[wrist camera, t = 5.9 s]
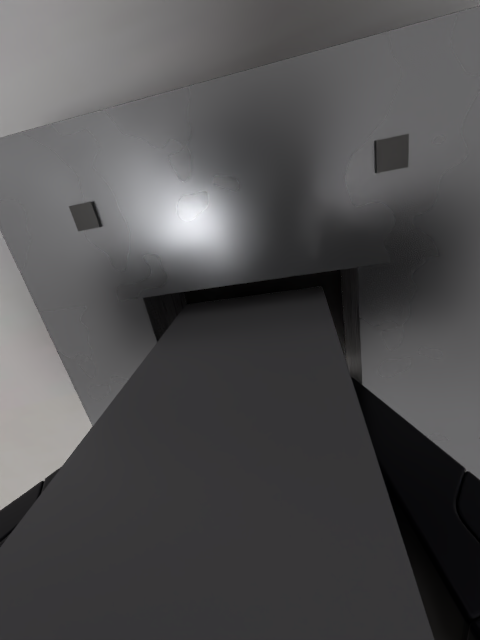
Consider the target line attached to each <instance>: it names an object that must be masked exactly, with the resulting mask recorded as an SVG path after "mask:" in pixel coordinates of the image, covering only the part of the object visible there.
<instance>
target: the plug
mask: <svg viewBox="0 0 480 640" xmlns="http://www.w3.org/2000/svg"><path fill="white" fill-rule="evenodd" d="M0 640H434V637H433V634H432V630H431V627H430V624H429V621H428V618H427V615H426V612H425V608H424V605H423V602H422V599H421V596H420V593H419V590H418V586H417V583H416V580H415V577H414V574H413V571H412V568H411V564H410V561H409V558H408V555H407V552H406V549H405V546H404V542H403V539H402V536H401V533H400V530H399V527H398V524H397V520H396V517H395V514H394V511H393V508H392V505H391V501H390V498H389V495H388V492H387V489H386V486H385V483H384V479H383V476H382V473H381V470H380V467H379V464H378V461H377V457H376V454H375V451H374V448H373V445H372V442H371V439H370V435H369V432H368V429H367V426H366V423H365V420H364V417H363V413H362V410H361V407H360V404H359V401H358V398H357V395H356V391H355V388H354V385H353V382H352V379H351V376H350V373H349V369H348V366H347V363H346V360H345V357H344V354H343V351H342V347H341V344H340V341H339V338H338V335H337V332H336V329H335V325H334V322H333V319H332V316H331V313H330V310H329V307H328V303H327V300H326V297H325V294H324V291H323V288H322V286H319V287H312V288H304V289H297V290H290V291H282V292H275V293H267V294H260V295H252V296H245V297H238V298H230V299H223V300H215V301H208V302H200V303H193V304H186V305H185V307H184V308H183V309H182V311H181V312H180V313H179V315H178V316H177V317H176V318H175V320H174V321H173V322H172V324H171V325H170V326H169V328H168V329H167V330H166V332H165V333H164V334H163V335H162V337H161V338H160V339H159V341H158V342H157V343H156V345H155V346H154V347H153V348H152V350H151V351H150V352H149V354H148V355H147V356H146V358H145V359H144V360H143V362H142V363H141V364H140V365H139V367H138V368H137V369H136V371H135V372H134V373H133V375H132V376H131V377H130V379H129V380H128V381H127V382H126V384H125V385H124V386H123V388H122V389H121V390H120V392H119V393H118V394H117V395H116V397H115V398H114V399H113V401H112V402H111V403H110V405H109V406H108V407H107V409H106V410H105V411H104V412H103V414H102V415H101V416H100V418H99V419H98V420H97V422H96V423H95V424H94V426H93V427H92V428H91V429H90V431H89V432H88V433H87V435H86V436H85V437H84V439H83V440H82V441H81V443H80V444H79V445H78V446H77V448H76V449H75V450H74V452H73V453H72V454H71V456H70V457H69V458H68V459H67V461H66V462H65V463H64V465H63V466H62V467H61V469H60V470H59V471H58V473H57V474H56V475H55V476H54V478H53V479H52V480H51V482H50V483H49V484H48V486H47V487H46V488H45V490H44V491H43V492H42V493H41V495H40V496H39V497H38V499H37V500H36V501H35V503H34V504H33V505H32V506H31V508H30V509H29V510H28V512H27V513H26V514H25V516H24V517H23V518H22V520H21V521H20V522H19V523H18V525H17V526H16V527H15V529H14V530H13V531H12V533H11V534H10V535H9V537H8V538H7V539H6V540H5V542H4V543H3V544H2V546H1V547H0Z"/></svg>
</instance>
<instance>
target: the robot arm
mask: <svg viewBox="0 0 480 640" xmlns="http://www.w3.org/2000/svg"><path fill="white" fill-rule="evenodd" d="M351 379H352V382H353V385H354V388H355V391H356V395H357V398H358V401H359V404H360V407H361V410H362V413H363V417H364V420H365V423H366V426H367V429H368V432H369V435H370V439H371V442H372V445H373V448H374V451H375V454H376V457H377V461H378V464H379V467H380V470H381V473H382V476H383V479H384V483H385V486H386V489H387V492H388V495H389V498H390V501H391V505H392V508H393V511H394V514H395V517H396V520H397V524H398V527H399V530H400V533H401V536H402V539H403V542H404V546H405V549H406V552H407V555H408V558H409V561H410V564H411V568H412V571H413V574H414V577H415V580H416V583H417V586H418V590H419V593H420V596H421V599H422V602H423V605H424V608H425V612H426V615H427V618H428V621H429V624H430V627H431V630H432V634H433V637H434V640H480V479H479V478H477V477H476V476H475V475H474V474H472V473H471V472H470V471H466V468H465V467H464V466H462V465H461V464H460V463H459V462H457V461H456V460H455V459H454V458H452V457H451V456H450V455H449V454H447V453H446V452H445V451H444V450H442V449H441V448H440V447H439V446H438V445H436V444H435V443H434V442H433V441H431V440H430V439H429V438H428V437H426V436H425V435H424V434H423V433H421V432H420V431H419V430H418V429H416V428H415V427H414V426H413V425H412V424H410V423H409V422H408V421H407V420H405V419H404V418H403V417H402V416H400V415H399V414H398V413H397V412H395V411H394V410H393V409H392V408H390V407H389V406H388V405H387V404H386V403H384V402H383V401H382V400H381V399H379V398H378V397H377V396H376V395H374V394H373V393H372V392H371V391H369V390H368V389H367V388H366V387H365V386H363V385H362V384H361V383H360V382H358V381H357V380H356V379H355V378H353V377H351ZM60 469H61V467H60V468H59V469H58V470H56V471H55V472H54V473H52V474H51V475H49V476H48V477H47V478H45V481H41V482H40V483H38V484H37V485H35V486H34V487H33V488H31V489H30V490H29V491H27V492H26V493H24V494H23V495H22V496H20V497H19V498H17V499H16V500H15V501H13V502H12V503H10V504H9V505H7V506H6V507H5V508H3V509H2V510H0V547H1V546H2V544H3V543H4V542H5V540H6V539H7V538H8V537H9V535H10V534H11V533H12V531H13V530H14V529H15V527H16V526H17V525H18V523H19V522H20V521H21V520H22V518H23V517H24V516H25V514H26V513H27V512H28V510H29V509H30V508H31V506H32V505H33V504H34V503H35V501H36V500H37V499H38V497H39V496H40V495H41V493H42V492H43V491H44V490H45V488H46V487H47V486H48V484H49V483H50V482H51V480H52V479H53V478H54V476H55V475H56V474H57V473H58V471H59V470H60Z"/></svg>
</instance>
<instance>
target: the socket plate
mask: <svg viewBox="0 0 480 640" xmlns="http://www.w3.org/2000/svg"><path fill="white" fill-rule="evenodd" d="M0 230H1V233H2V235H3V237H4V239H5V241H6V243H7V245H8V247H9V250H10V252H11V254H12V256H13V258H14V260H15V262H16V264H17V267H18V269H19V271H20V273H21V275H22V277H23V279H24V281H25V284H26V286H27V288H28V290H29V292H30V294H31V296H32V298H33V301H34V303H35V305H36V307H37V309H38V311H39V313H40V315H41V318H42V320H43V322H44V324H45V326H46V328H47V330H48V332H49V335H50V337H51V339H52V341H53V343H54V345H55V347H56V349H57V352H58V354H59V356H60V358H61V360H62V362H63V364H64V366H65V368H66V371H67V373H68V375H69V377H70V379H71V381H72V383H73V385H74V388H75V390H76V392H77V394H78V396H79V398H80V400H81V402H82V405H83V407H84V409H85V411H86V413H87V415H88V417H89V419H90V422H91V424H92V426H94V424H95V423H96V422H97V420H98V419H99V418H100V416H101V415H102V414H103V412H104V411H105V410H106V409H107V407H108V406H109V405H110V403H111V402H112V401H113V399H114V398H115V397H116V395H117V394H118V393H119V392H120V390H121V389H122V388H123V386H124V385H125V384H126V382H127V381H128V380H129V379H130V377H131V376H132V375H133V373H134V372H135V371H136V369H137V368H138V367H139V365H140V364H141V363H142V362H143V360H144V359H145V358H146V356H147V355H148V354H149V352H150V351H151V350H152V348H153V347H154V346H155V345H156V343H157V342H158V341H159V339H160V338H161V337H162V335H163V334H164V333H165V332H166V330H167V329H168V328H169V326H170V325H171V324H172V322H173V321H174V320H175V318H176V317H177V316H178V315H179V313H180V312H181V311H182V309H183V308H184V307H185V305H186V304H187V303H186V299H185V296H184V292H186V291H193V290H200V289H207V288H214V287H221V286H228V285H235V284H242V283H249V282H256V281H263V280H270V279H277V278H284V277H291V276H298V275H305V274H312V273H319V272H326V271H333V270H340V274H341V289H342V304H343V319H344V334H345V349H346V363H347V366H348V369H349V373H350V376H351V377H353V378H355V379H356V380H357V381H358V382H360V383H361V384H362V385H363V386H365V387H366V388H367V389H368V390H369V391H371V392H372V393H373V394H374V395H376V396H377V397H378V398H379V399H381V400H382V401H383V402H384V403H386V404H387V405H388V406H389V407H390V408H392V409H393V410H394V411H395V412H397V413H398V414H399V415H400V416H402V417H403V418H404V419H405V420H407V421H408V422H409V423H410V424H412V425H413V426H414V427H415V428H416V429H418V430H419V431H420V432H421V433H423V434H424V435H425V436H426V437H428V438H429V439H430V440H431V441H433V442H434V443H435V444H436V445H438V446H439V447H440V448H441V449H442V450H444V451H445V452H446V453H447V454H449V455H450V456H451V457H452V458H454V459H455V460H456V461H457V462H459V463H460V464H461V465H462V466H464V467H465V468H466V471H470V472H471V473H472V474H474V475H475V476H476V477H477V478H479V479H480V6H477V7H474V8H470V9H467V10H463V11H459V12H456V13H452V14H448V15H445V16H441V17H437V18H434V19H430V20H427V21H423V22H419V23H416V24H412V25H408V26H405V27H401V28H397V29H394V30H390V31H387V32H383V33H379V34H376V35H372V36H368V37H365V38H361V39H357V40H354V41H350V42H347V43H343V44H339V45H336V46H332V47H328V48H325V49H321V50H317V51H314V52H310V53H307V54H303V55H299V56H296V57H292V58H288V59H285V60H281V61H277V62H274V63H270V64H267V65H263V66H259V67H256V68H252V69H248V70H245V71H241V72H237V73H234V74H230V75H227V76H223V77H219V78H216V79H212V80H208V81H205V82H201V83H197V84H194V85H190V86H186V87H183V88H179V89H176V90H172V91H168V92H165V93H161V94H157V95H154V96H150V97H146V98H143V99H139V100H136V101H132V102H128V103H125V104H121V105H117V106H114V107H110V108H106V109H103V110H99V111H96V112H92V113H88V114H85V115H81V116H77V117H74V118H70V119H66V120H63V121H59V122H56V123H52V124H48V125H45V126H41V127H37V128H34V129H30V130H26V131H23V132H19V133H16V134H12V135H8V136H5V137H1V138H0Z"/></svg>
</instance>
